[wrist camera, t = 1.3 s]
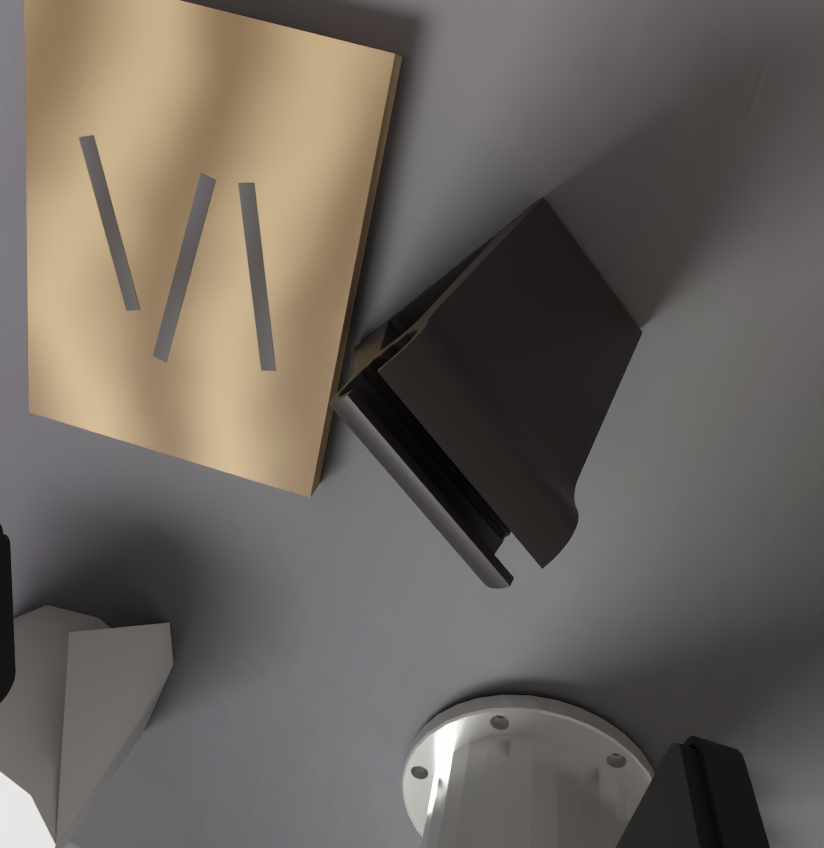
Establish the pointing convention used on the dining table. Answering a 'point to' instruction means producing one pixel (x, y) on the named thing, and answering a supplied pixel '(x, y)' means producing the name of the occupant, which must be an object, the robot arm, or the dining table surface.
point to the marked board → (197, 226)
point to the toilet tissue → (72, 718)
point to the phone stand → (495, 391)
